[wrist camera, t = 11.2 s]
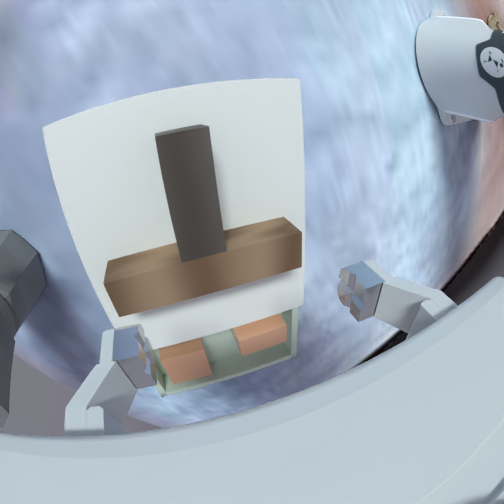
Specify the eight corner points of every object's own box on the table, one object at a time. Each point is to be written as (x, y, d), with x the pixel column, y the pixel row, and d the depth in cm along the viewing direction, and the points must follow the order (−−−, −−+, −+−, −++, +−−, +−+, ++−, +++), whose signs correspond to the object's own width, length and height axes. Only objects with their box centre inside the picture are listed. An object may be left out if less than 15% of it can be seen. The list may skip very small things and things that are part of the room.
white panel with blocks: (274, 82, 20) (299, 78, 17) (284, 281, 31) (303, 305, 28) (62, 123, 16) (42, 127, 12) (129, 324, 27) (130, 354, 23)
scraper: (277, 114, 18) (298, 116, 15) (284, 249, 23) (301, 267, 21) (75, 156, 14) (62, 164, 12) (120, 292, 20) (119, 317, 17)
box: (284, 281, 31) (298, 299, 28) (285, 338, 36) (296, 356, 34) (129, 324, 27) (129, 347, 24) (158, 375, 32) (161, 396, 29)
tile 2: (212, 374, 30) (207, 359, 32) (203, 349, 28) (199, 333, 30) (173, 384, 29) (170, 368, 31) (160, 360, 27) (157, 344, 29)
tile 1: (286, 325, 26) (286, 341, 28) (267, 295, 31) (268, 311, 32) (238, 341, 25) (241, 356, 27) (224, 308, 29) (228, 324, 31)
